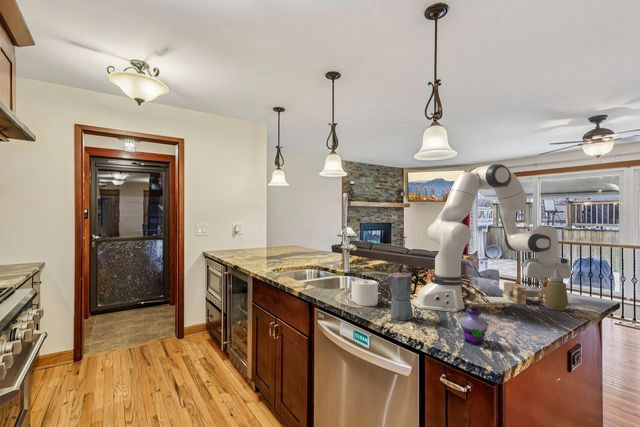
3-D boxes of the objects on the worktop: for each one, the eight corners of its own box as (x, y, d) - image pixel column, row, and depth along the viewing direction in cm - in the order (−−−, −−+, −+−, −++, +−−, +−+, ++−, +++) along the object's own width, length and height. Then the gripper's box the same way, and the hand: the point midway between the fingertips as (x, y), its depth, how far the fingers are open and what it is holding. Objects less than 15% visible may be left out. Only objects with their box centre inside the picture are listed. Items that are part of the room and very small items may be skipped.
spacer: (504, 290, 145) (504, 282, 145) (499, 288, 150) (499, 280, 150) (512, 290, 145) (512, 282, 145) (507, 288, 149) (507, 280, 149)
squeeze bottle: (572, 312, 129) (572, 271, 129) (551, 311, 131) (551, 270, 131) (561, 307, 137) (561, 268, 137) (541, 306, 139) (541, 267, 139)
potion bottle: (470, 348, 93) (470, 309, 93) (453, 337, 102) (453, 302, 102) (495, 346, 95) (495, 308, 95) (476, 335, 103) (476, 301, 103)
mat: (494, 303, 143) (494, 302, 143) (484, 297, 153) (484, 296, 153) (515, 303, 142) (515, 302, 142) (504, 297, 152) (504, 297, 152)
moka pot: (379, 315, 123) (380, 267, 123) (409, 311, 129) (409, 265, 129) (394, 323, 114) (394, 271, 115) (425, 318, 120) (425, 268, 121)
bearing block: (517, 304, 141) (517, 287, 141) (503, 297, 153) (503, 281, 153) (525, 304, 141) (526, 287, 141) (511, 297, 153) (511, 282, 153)
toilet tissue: (379, 306, 135) (379, 284, 135) (352, 306, 136) (353, 284, 136) (375, 300, 146) (375, 279, 146) (351, 299, 146) (351, 279, 147)
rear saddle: (545, 304, 142) (545, 295, 142) (534, 299, 150) (534, 291, 150) (554, 304, 142) (554, 295, 142) (543, 299, 149) (543, 291, 150)
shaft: (509, 296, 145) (509, 280, 145) (504, 294, 149) (504, 278, 149) (552, 298, 143) (552, 281, 143) (546, 295, 148) (546, 279, 148)
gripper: (528, 259, 144) (527, 287, 143) (573, 260, 142) (573, 289, 142) (520, 257, 150) (520, 284, 150) (563, 258, 148) (563, 286, 148)
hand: (546, 287), depth 146 cm, fingers closed on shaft, 2 cm apart
